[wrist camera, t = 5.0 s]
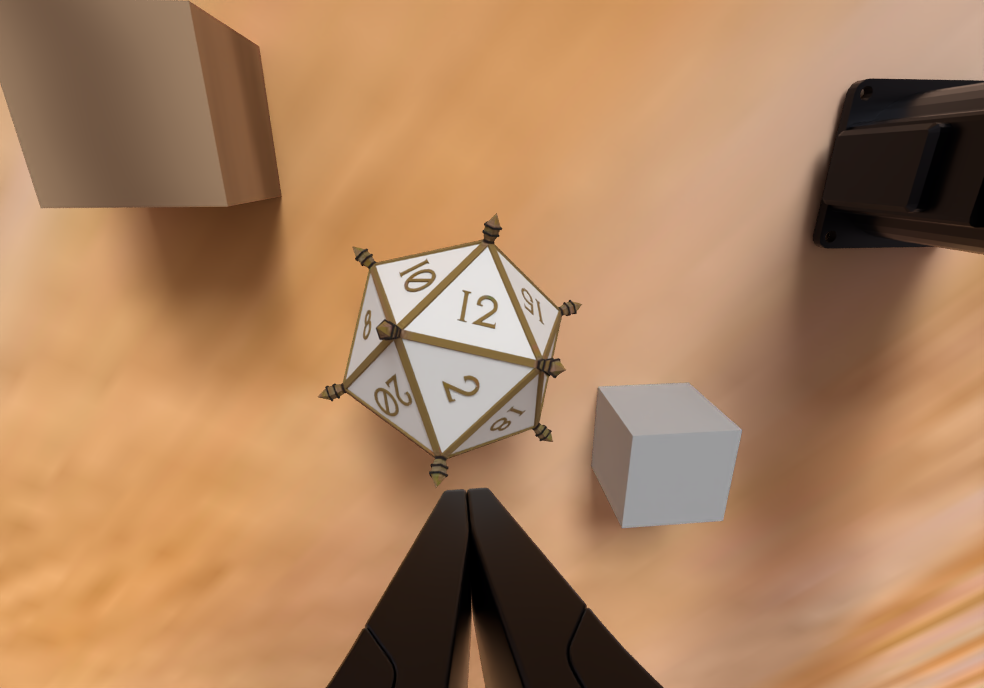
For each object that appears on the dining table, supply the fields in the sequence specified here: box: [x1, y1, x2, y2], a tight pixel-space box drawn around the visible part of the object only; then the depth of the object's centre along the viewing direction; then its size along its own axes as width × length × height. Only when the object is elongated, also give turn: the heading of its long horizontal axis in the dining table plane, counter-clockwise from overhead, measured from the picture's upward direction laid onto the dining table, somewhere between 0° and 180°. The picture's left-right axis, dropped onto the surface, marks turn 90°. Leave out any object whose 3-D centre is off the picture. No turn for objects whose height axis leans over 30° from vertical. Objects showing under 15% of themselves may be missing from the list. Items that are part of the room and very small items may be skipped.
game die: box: [318, 213, 582, 488], centre depth 17 cm, size 9×8×10 cm
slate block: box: [591, 383, 742, 528], centre depth 22 cm, size 4×4×4 cm
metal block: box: [0, 0, 281, 208], centre depth 15 cm, size 5×5×5 cm
